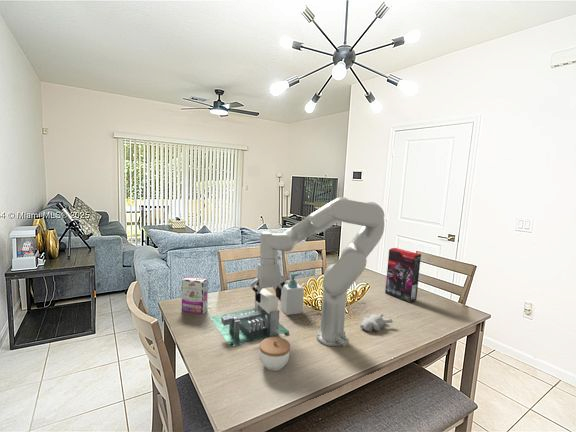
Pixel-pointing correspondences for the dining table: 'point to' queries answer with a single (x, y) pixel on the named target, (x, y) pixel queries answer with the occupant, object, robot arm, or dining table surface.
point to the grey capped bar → (241, 317)
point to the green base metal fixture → (250, 327)
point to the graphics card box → (403, 274)
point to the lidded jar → (274, 352)
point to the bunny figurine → (374, 322)
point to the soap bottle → (292, 296)
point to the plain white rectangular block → (268, 301)
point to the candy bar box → (194, 295)
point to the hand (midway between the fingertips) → (268, 299)
